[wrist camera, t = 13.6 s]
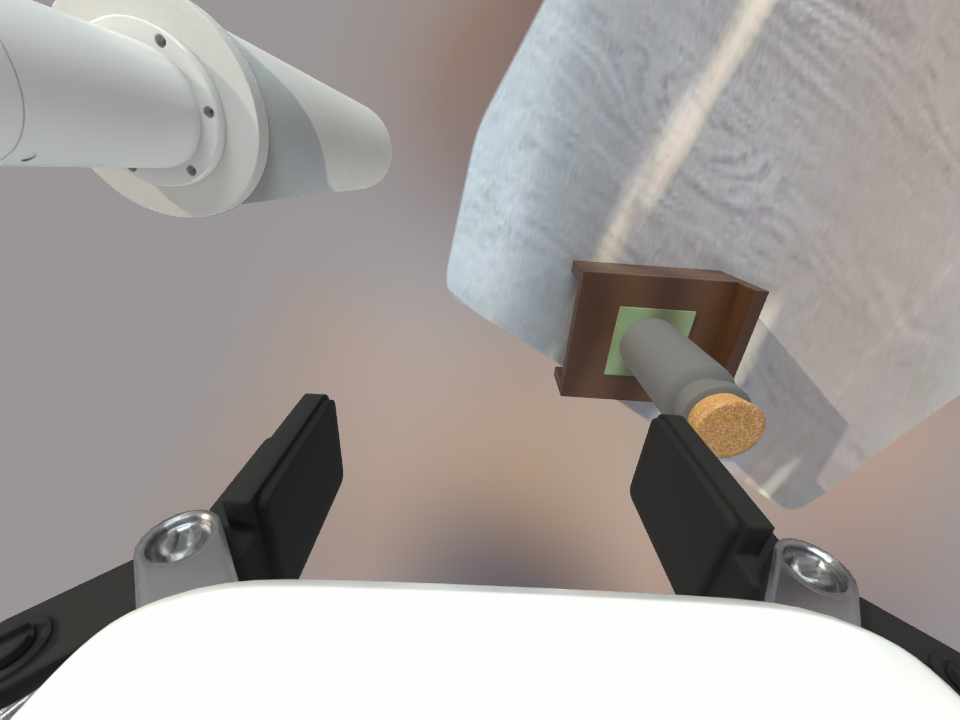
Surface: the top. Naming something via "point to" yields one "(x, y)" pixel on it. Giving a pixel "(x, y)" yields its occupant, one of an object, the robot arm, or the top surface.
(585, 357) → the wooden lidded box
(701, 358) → the bottle
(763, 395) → the top surface
